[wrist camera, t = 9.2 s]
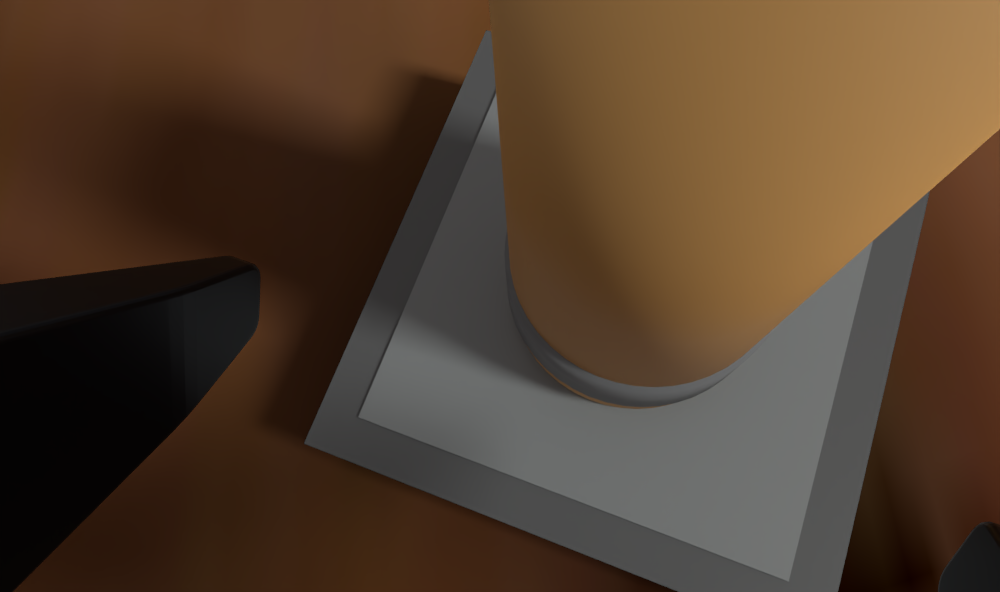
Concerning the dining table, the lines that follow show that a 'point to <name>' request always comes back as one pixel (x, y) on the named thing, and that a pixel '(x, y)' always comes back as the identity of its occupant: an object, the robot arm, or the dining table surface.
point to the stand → (606, 429)
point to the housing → (715, 167)
